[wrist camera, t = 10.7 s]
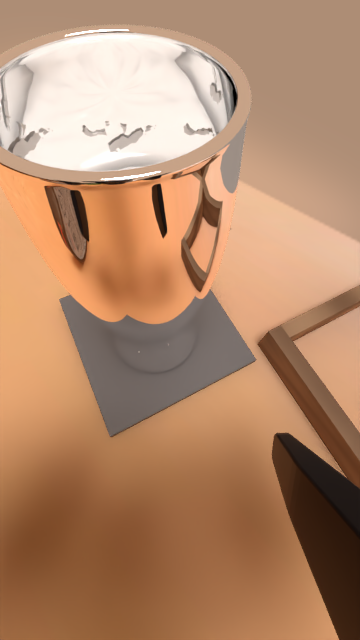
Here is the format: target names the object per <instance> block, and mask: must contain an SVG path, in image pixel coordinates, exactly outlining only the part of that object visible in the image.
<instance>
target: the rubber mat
mask: <svg viewBox="0 0 360 640" xmlns="http://www.w3.org/2000/svg"><path fill="white" fill-rule="evenodd" d="M59 300H60V303H61V306H62V309H63V311H64V314H65V317H66V319H67V322H68V325H69V327H70V330H71V333H72V335H73V338H74V341H75V344H76V346H77V349H78V352H79V354H80V357H81V360H82V362H83V365H84V368H85V370H86V373H87V376H88V379H89V381H90V384H91V387H92V389H93V392H94V395H95V397H96V400H97V403H98V405H99V408H100V411H101V414H102V416H103V419H104V422H105V424H106V427H107V430H108V432H109V435H110V437H113V436H115V435H117V434H118V433H120V432H122V431H124V430H126V429H128V428H130V427H132V426H134V425H135V424H137V423H139V422H141V421H143V420H145V419H147V418H149V417H151V416H152V415H154V414H156V413H158V412H160V411H162V410H164V409H166V408H168V407H170V406H171V405H173V404H175V403H177V402H179V401H181V400H183V399H185V398H187V397H188V396H190V395H192V394H194V393H196V392H198V391H200V390H202V389H204V388H205V387H207V386H209V385H211V384H213V383H215V382H217V381H219V380H221V379H223V378H224V377H226V376H228V375H230V374H232V373H234V372H236V371H238V370H240V369H241V368H243V367H245V366H247V365H249V364H251V363H253V362H255V360H256V359H255V357H254V355H253V354H252V352H251V351H250V349H249V348H248V346H247V345H246V343H245V342H244V340H243V339H242V337H241V335H240V334H239V332H238V331H237V329H236V328H235V326H234V325H233V323H232V322H231V320H230V319H229V317H228V316H227V314H226V312H225V311H224V309H223V308H222V306H221V305H220V303H219V302H218V300H217V299H216V297H215V296H214V294H213V292H212V291H211V289H210V290H209V292H208V294H207V296H206V297H205V299H204V301H203V303H202V304H201V306H200V308H199V309H198V311H197V313H196V314H195V316H194V318H195V321H196V326H197V338H196V343H195V346H194V348H193V350H192V352H191V353H190V355H189V356H188V357H187V358H186V360H185V361H184V362H182V363H181V364H180V365H178V366H177V367H175V368H173V369H171V370H168V371H165V372H160V373H147V372H142V371H139V370H137V369H134V368H132V367H131V366H129V365H128V364H127V363H125V362H124V361H123V360H122V358H121V357H120V356H119V354H118V353H117V351H116V348H115V346H114V342H113V336H112V331H111V330H110V329H109V328H107V327H106V326H105V325H103V324H102V323H101V322H100V321H98V320H97V319H96V318H95V317H93V316H92V315H91V314H90V313H89V312H88V311H87V310H85V309H84V308H83V307H82V306H81V305H80V304H79V303H78V302H77V301H76V300H75V299H74V298H73V297H72V296H71V295H69V296H66V297H64V298H61V299H59Z"/></svg>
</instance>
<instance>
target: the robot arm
mask: <svg viewBox="0 0 360 640" xmlns="http://www.w3.org/2000/svg"><path fill="white" fill-rule="evenodd" d="M272 460H273V464H274V467H275V470H276V474H277V477H278V481H279V484H280V487H281V491H282V494H283V497H284V501H285V504H286V507H287V510H288V514H289V516H290V519H291V522H292V524H293V527H294V529H295V532H296V534H297V536H298V539H299V541H300V544H301V546H302V549H303V551H304V554H305V556H306V559H307V561H308V564H309V566H310V569H311V571H312V574H313V576H314V578H315V581H316V583H317V586H318V588H319V591H320V593H321V596H322V598H323V601H324V603H325V606H326V608H327V611H328V613H329V616H330V618H331V621H332V623H333V625H334V628H335V630H336V633H337V635H338V638H339V640H360V488H359V487H357V486H356V485H355V484H353V483H352V482H351V481H350V480H348V479H347V478H346V477H344V476H343V475H342V474H341V473H339V472H338V471H337V470H335V469H334V468H333V467H332V466H330V465H329V464H328V463H326V462H325V461H324V460H323V459H321V458H320V457H319V456H317V455H316V454H315V453H314V452H312V451H311V450H310V449H308V448H307V447H306V446H305V445H303V444H302V443H301V442H299V441H298V440H297V439H296V438H294V437H293V436H292V435H290V434H289V433H276V434H275V435H274V441H273V448H272Z"/></svg>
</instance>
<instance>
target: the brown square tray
mask: <svg viewBox="0 0 360 640" xmlns="http://www.w3.org/2000/svg"><path fill="white" fill-rule="evenodd" d="M359 306H360V285H359V286H357V287H355V288H353V289H351V290H349V291H347V292H345V293H343V294H341V295H339V296H337V297H335V298H333V299H331V300H329V301H327V302H325V303H324V304H322V305H320V306H318V307H316V308H314V309H312V310H310V311H308V312H306V313H304V314H302V315H300V316H298V317H296V318H294V319H292V320H290V321H288V322H286V323H284V324H282V325H280V326H278V327H276V328H274V329H272V330H270V331H268V333H267V334H266V335H265V336H264V338H263V339H262V340H261V341H260V342H259V344H258V345H259V347H260V348H261V349H262V351H263V352H264V354H265V355H266V357H267V358H268V360H269V361H270V363H271V364H272V366H273V367H274V369H275V370H276V372H277V373H278V375H279V376H280V378H281V379H282V381H283V382H284V384H285V385H286V387H287V388H288V390H289V391H290V393H291V394H292V396H293V397H294V399H295V400H296V402H297V403H298V405H299V406H300V408H301V409H302V411H303V412H304V414H305V415H306V417H307V418H308V420H309V421H310V423H311V424H312V426H313V427H314V429H315V430H316V432H317V433H318V434H319V436H320V437H321V439H322V440H323V442H324V443H325V445H326V446H327V448H328V449H329V451H330V452H331V454H332V455H333V457H334V458H335V460H336V461H337V463H338V464H339V466H340V467H341V469H342V470H343V472H344V473H345V475H346V476H347V478H348V479H349V480H350V481H351V482H352V483H353V484H355V485H356V486H357V487H359V488H360V433H359V432H358V430H357V429H356V427H355V426H354V425H353V423H352V422H351V421H350V419H349V418H348V416H347V415H346V414H345V412H344V411H343V410H342V408H341V407H340V406H339V404H338V403H337V401H336V400H335V399H334V397H333V396H332V395H331V393H330V392H329V390H328V389H327V388H326V386H325V385H324V384H323V382H322V381H321V380H320V378H319V377H318V375H317V374H316V373H315V371H314V370H313V369H312V367H311V366H310V364H309V363H308V362H307V360H306V359H305V358H304V356H303V355H302V354H301V352H300V351H299V349H298V348H297V347H296V345H295V344H294V343H293V341H294V340H296V339H298V338H300V337H302V336H304V335H306V334H308V333H310V332H312V331H313V330H315V329H317V328H319V327H321V326H323V325H325V324H327V323H329V322H330V321H332V320H334V319H336V318H338V317H340V316H342V315H344V314H346V313H347V312H349V311H351V310H353V309H355V308H357V307H359Z"/></svg>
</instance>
